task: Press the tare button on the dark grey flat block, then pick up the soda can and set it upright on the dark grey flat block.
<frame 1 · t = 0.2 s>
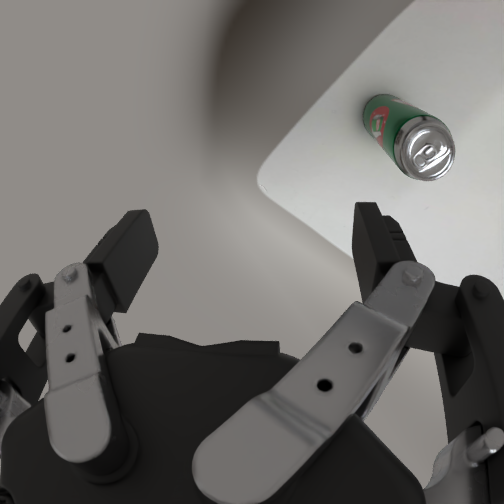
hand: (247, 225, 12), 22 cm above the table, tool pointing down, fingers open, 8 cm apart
soda can: (384, 116, 28), on the table
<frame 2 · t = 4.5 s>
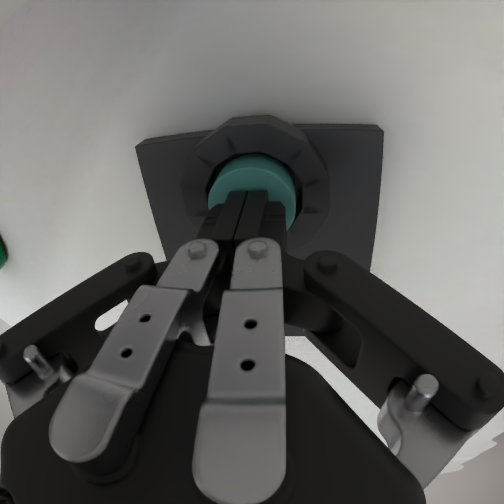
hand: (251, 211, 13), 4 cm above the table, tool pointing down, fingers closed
tare button: (253, 199, 13), point 3 cm above the table, slide at -0.3 cm, touching gripper
dark grey flat block: (267, 244, 18), on the table
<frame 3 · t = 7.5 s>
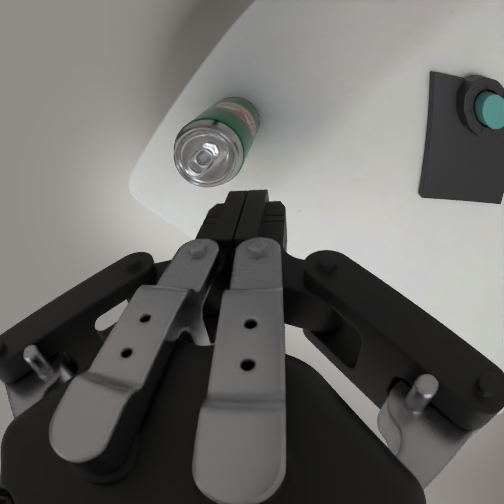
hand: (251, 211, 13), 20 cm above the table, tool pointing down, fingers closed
soda can: (235, 119, 30), on the table
tare button: (491, 110, 21), point 3 cm above the table, slide at 0.1 cm
dark grey flat block: (470, 140, 26), on the table
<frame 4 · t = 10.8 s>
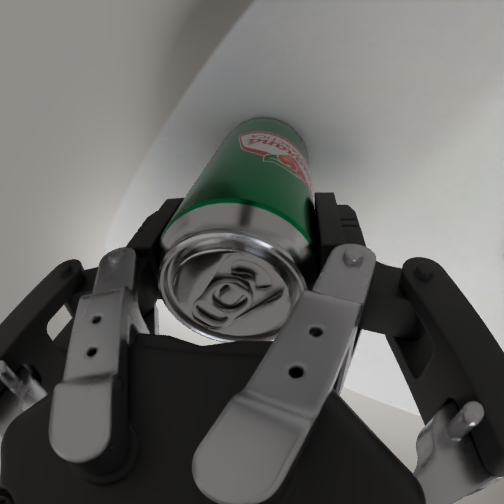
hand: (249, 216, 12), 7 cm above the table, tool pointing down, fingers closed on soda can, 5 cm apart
soda can: (265, 154, 18), on the table, touching gripper
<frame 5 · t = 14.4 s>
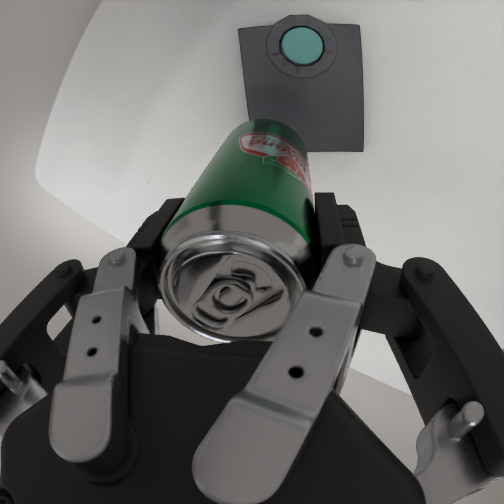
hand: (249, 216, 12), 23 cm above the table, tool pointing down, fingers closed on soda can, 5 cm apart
soda can: (265, 155, 18), point 15 cm above the table, touching gripper
tare button: (302, 45, 23), point 3 cm above the table, slide at 0.1 cm
dark grey flat block: (304, 87, 29), on the table
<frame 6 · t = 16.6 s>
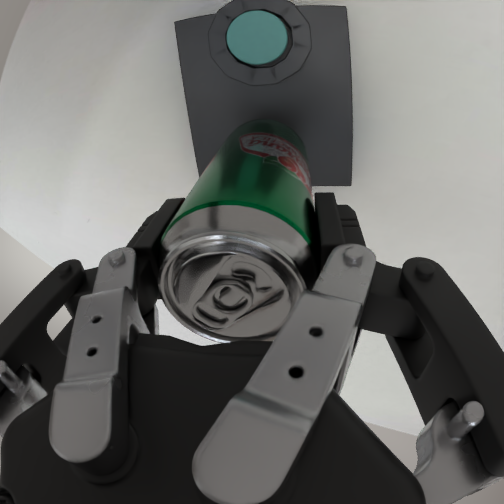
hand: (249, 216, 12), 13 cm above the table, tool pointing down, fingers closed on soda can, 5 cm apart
soda can: (265, 155, 18), point 5 cm above the table, touching gripper
tare button: (258, 37, 16), point 3 cm above the table, slide at 0.1 cm
dark grey flat block: (268, 97, 21), on the table
when the fingers open (9 cm above the table, at t = 18.2 s): soda can stays where it is, resting on dark grey flat block.
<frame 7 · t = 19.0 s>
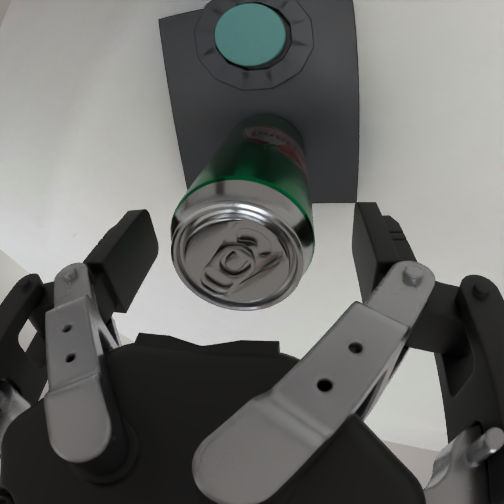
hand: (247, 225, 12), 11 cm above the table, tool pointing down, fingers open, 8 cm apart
soda can: (266, 148, 20), point 1 cm above the table, touching dark grey flat block
tare button: (251, 35, 13), point 3 cm above the table, slide at 0.1 cm
dark grey flat block: (264, 103, 19), on the table
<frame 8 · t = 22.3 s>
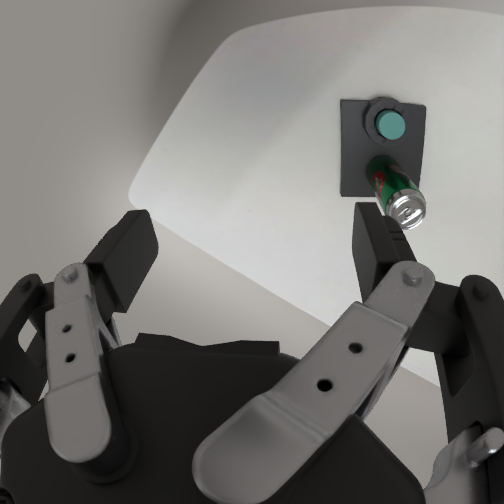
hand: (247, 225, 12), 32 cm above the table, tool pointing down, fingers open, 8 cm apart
soda can: (382, 171, 40), point 1 cm above the table, touching dark grey flat block
tare button: (390, 124, 34), point 3 cm above the table, slide at 0.1 cm
dark grey flat block: (382, 149, 39), on the table
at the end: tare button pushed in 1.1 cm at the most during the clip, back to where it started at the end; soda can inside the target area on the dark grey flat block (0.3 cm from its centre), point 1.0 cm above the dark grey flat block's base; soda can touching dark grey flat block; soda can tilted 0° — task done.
